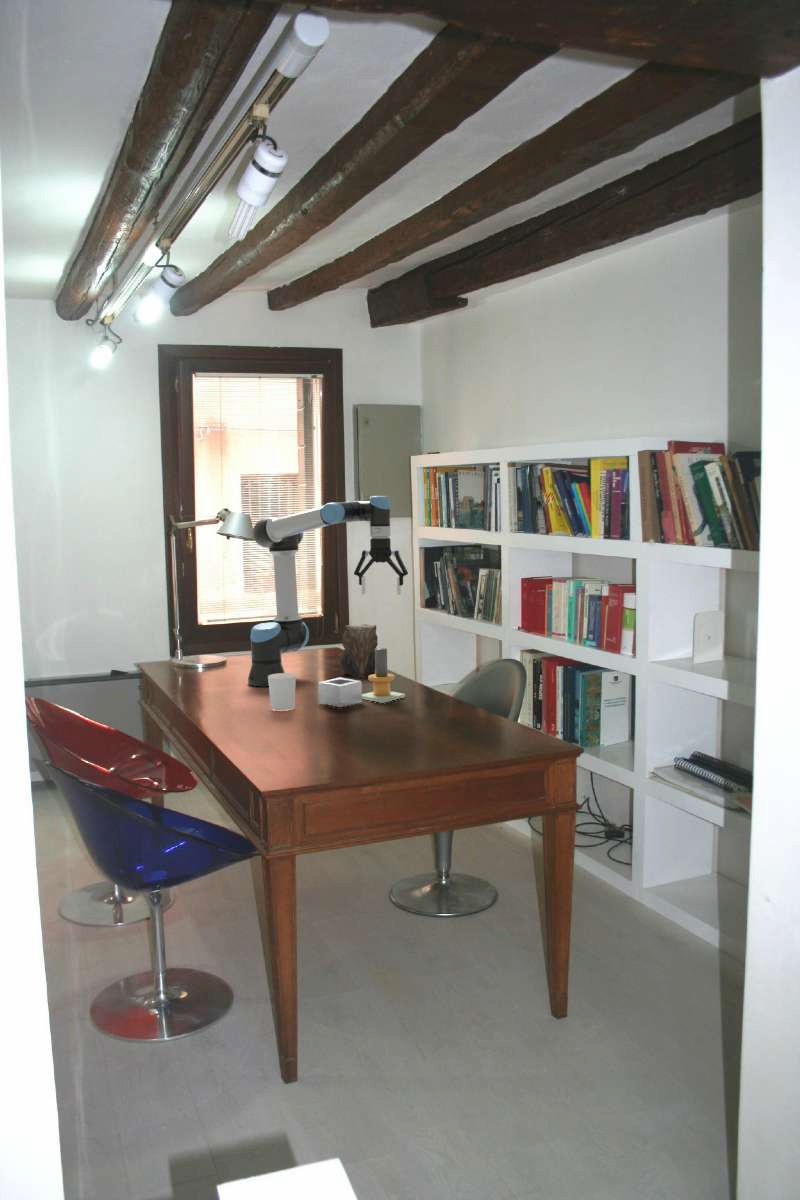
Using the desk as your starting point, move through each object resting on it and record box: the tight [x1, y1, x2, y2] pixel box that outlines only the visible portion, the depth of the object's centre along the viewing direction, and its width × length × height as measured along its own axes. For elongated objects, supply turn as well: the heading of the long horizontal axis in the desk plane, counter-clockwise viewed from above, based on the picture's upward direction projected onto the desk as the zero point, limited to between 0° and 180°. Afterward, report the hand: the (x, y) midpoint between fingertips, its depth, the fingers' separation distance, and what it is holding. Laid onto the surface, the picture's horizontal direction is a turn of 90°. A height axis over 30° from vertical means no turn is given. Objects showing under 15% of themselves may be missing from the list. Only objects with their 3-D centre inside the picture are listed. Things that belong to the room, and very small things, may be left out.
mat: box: [362, 690, 406, 704], centre depth 383 cm, size 12×12×2 cm
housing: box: [317, 677, 363, 707], centre depth 375 cm, size 11×11×8 cm
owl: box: [340, 623, 379, 678], centre depth 429 cm, size 13×13×20 cm
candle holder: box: [268, 672, 297, 710], centre depth 368 cm, size 10×10×12 cm
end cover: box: [367, 647, 396, 696], centre depth 382 cm, size 10×10×17 cm
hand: (381, 594), depth 394 cm, fingers open, 13 cm apart
